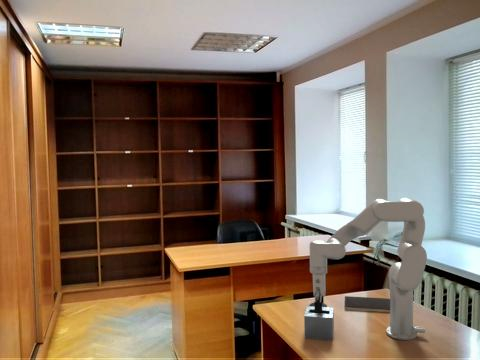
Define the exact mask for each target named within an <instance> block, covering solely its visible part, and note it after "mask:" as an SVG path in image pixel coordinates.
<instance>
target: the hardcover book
mask: <svg viewBox="0 0 480 360" xmlns="http://www.w3.org/2000/svg"><path fill="white" fill-rule="evenodd" d="M344 310H346V311H360V312H361V311H363V312H375V313H376V312H377V313H379V312H380V313H390V298H384V297H369V296H368V297H367V296H351V295H350V296H348V295H345V296H344Z"/></svg>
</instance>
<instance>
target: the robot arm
mask: <svg viewBox="0 0 480 360" xmlns="http://www.w3.org/2000/svg"><path fill="white" fill-rule="evenodd" d="M424 213H425V208H424V206H423V205H422V203H421V202H420V201H417V200H415V199H412V198H410V197H402V198H400V199H399V200H398V201H391V200H390V201H388V200H386V199H384V198H377V199H375V200H373V201H372V202H371V203H369V204H368V205H367V206H366V207H365V208H364V209H363V210H362V211H361V212H359V214H357V216H355V217H354V218H353V219H352V220H351V221H349V222H347V223H346V224H345V225H343V226H342V227H340V228H339V229H338V230H337V231H335V233H333V234H332V235H331V236H329V238H328V239H327V241H325V240H312V241H310V243H309V272H310V274H312V292H313V297H314V302H313V303H314V305H315V311H322V303H324V297H325V296H326V291H327V287H326V286H327V283H326V282H327V281H326V275H327V274H328V259H329V260H340V259H342V258H344V257H345V255H346V253H347V250H346V246H347V245H348V244H349V243H351V241H353V240H355V239H357V238H359V237H360V238H361V237H364V236H366V235H368V234H369V233H370V232H371V231H373V229H375V227H377V226H378V225H379V224H380V223H381V222H387V223H389V222H391V223H397V222H398V223H400V222H401V223H402V222H403V229H402V233H401V236H400V239H399V243H398V246H397V251H396V253H397V255H398V257H399V258H400V259H401V261H399V262H395V263H392V264H391V265H390V267H389V269H388V283H389V299H390V312H389V326H388V327H387V328H386V329H385V331H386V334H387V336H389V337H391V338H393V339H396V340H400V341H411V340H414V339H417V337H418V333H421V334H425V333H426V329H425V327H422V326H421V325H420V326H419V325H414V291H415V290H418V288H419V286H420V284H421V281H422V278H423V275H424V272H425V269H426V265H427V263H428V262H427V261H428V253H427V251H426V249H425V247H423V246H422V244H423V240H424V236H425V231H426V221H425V217H424ZM324 304H325V303H324Z"/></svg>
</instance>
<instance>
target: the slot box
mask: <svg viewBox="0 0 480 360" xmlns="http://www.w3.org/2000/svg"><path fill="white" fill-rule="evenodd" d="M334 308H335V307H329V306H327V307H322V311H315V306H309V305H306V309H305V312H304V315H303V319H304V322H303V323H304V325H303V327H304V339H306V340H307V339H310V340H321V341H332V342H333V341H334V333H335V331H334V330H335V317H334V315H335V313H334V312H335V311H334V310H335V309H334Z"/></svg>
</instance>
